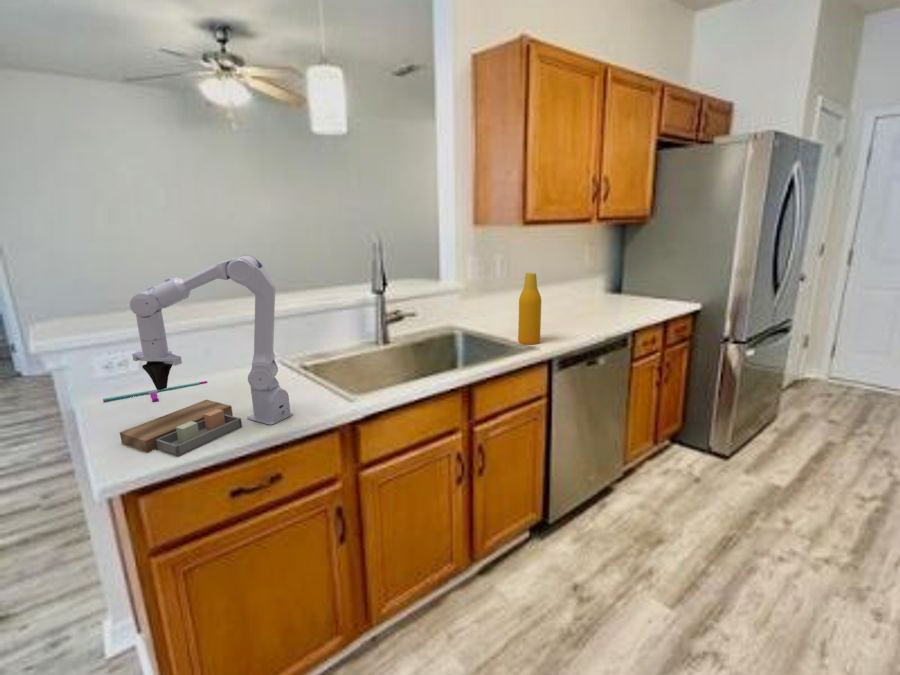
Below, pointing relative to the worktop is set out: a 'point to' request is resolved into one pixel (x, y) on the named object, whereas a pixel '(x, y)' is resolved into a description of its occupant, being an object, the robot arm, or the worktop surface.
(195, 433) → the tile sage
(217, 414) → the tile terracotta
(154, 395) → the squeegee
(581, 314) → the worktop surface
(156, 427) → the board
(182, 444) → the tray
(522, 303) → the beer bottle
